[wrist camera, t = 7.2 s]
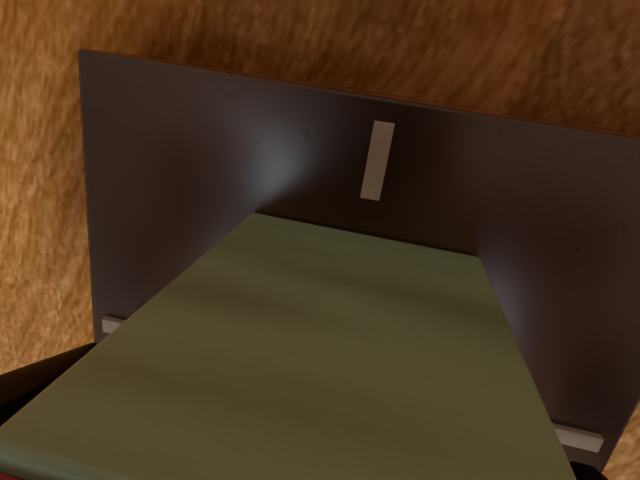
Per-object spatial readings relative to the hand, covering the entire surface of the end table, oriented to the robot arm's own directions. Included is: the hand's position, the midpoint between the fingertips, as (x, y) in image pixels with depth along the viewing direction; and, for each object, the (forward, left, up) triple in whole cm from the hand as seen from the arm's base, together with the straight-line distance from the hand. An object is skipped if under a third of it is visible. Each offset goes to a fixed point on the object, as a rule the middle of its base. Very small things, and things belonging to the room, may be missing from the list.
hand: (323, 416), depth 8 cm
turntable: (0, 0, -3) cm, 3 cm away
